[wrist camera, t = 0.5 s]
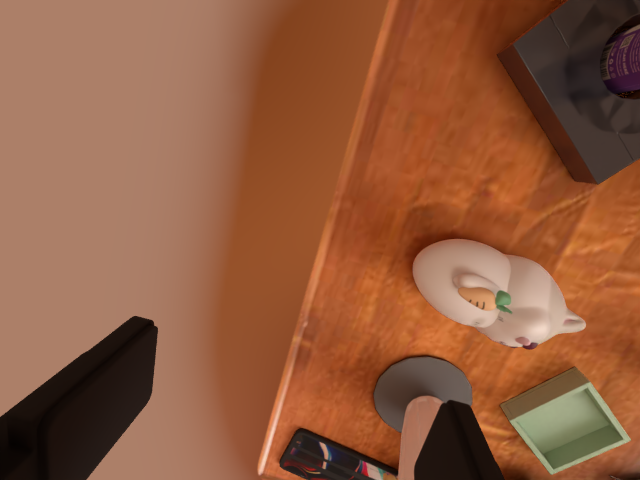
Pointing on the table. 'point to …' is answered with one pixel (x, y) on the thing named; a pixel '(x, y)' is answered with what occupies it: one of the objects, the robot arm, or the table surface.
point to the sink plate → (578, 86)
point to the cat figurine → (493, 292)
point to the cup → (417, 401)
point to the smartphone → (329, 460)
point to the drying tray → (564, 421)
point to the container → (622, 61)
